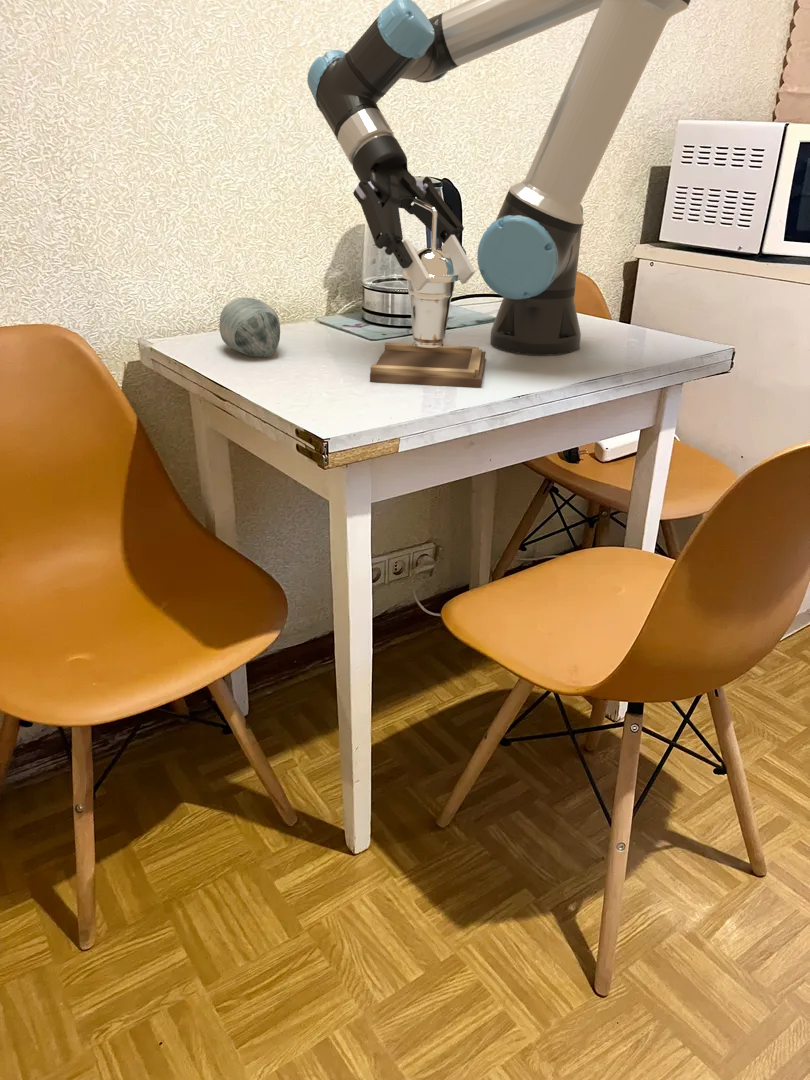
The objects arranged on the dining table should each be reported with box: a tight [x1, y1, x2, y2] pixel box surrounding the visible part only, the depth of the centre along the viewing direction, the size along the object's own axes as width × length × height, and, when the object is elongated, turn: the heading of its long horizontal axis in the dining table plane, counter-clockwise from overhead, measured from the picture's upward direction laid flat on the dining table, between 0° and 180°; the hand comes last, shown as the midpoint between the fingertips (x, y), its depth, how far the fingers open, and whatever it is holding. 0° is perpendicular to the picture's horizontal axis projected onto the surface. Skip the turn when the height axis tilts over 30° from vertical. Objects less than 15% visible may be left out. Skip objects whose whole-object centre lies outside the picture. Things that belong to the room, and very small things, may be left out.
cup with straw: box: [401, 197, 461, 348], centre depth 119 cm, size 8×9×20 cm
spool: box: [218, 296, 281, 358], centre depth 132 cm, size 14×10×10 cm
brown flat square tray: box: [369, 342, 486, 389], centre depth 124 cm, size 16×16×2 cm
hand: (446, 281), depth 117 cm, fingers closed on cup with straw, 8 cm apart
